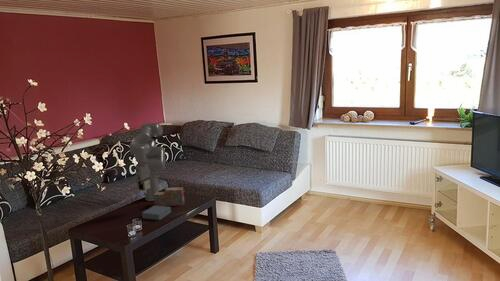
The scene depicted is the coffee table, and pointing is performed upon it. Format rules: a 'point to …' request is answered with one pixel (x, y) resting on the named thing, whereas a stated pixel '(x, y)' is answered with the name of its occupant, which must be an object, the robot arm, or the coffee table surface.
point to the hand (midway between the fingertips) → (144, 187)
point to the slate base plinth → (156, 212)
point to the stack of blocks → (170, 197)
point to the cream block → (145, 184)
